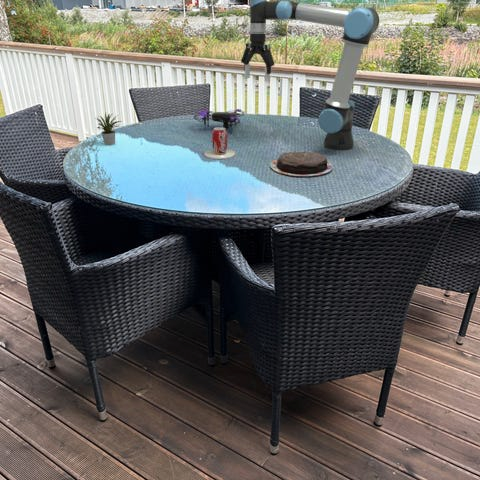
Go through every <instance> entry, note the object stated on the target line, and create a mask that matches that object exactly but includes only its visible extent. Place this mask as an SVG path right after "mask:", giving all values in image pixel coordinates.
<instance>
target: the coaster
mask: <svg viewBox="0 0 480 480" xmlns="http://www.w3.org/2000/svg"><path fill="white" fill-rule="evenodd" d="M235 156H236V152H235V151H234V150H232V149H228V148H227V152H226V153H225V154H222V155H218V154H215V153H214V152H213V148H212V149H209V150H206V151H205V152H204V158H207V159H211V160H227V159H232V158H234V157H235Z"/></svg>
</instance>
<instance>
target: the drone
mask: <svg viewBox="0 0 480 480" xmlns="http://www.w3.org/2000/svg"><path fill="white" fill-rule="evenodd" d="M238 112H239V113H238ZM244 115H245V111H244V110H242V109H241V108H240V109H239V108H236V109H234V111H232V110H228V111H214V110H212V111H211V110H210V109H207V110H201V111H200V112H197V113H195V114H194V115H193V118H194V120H195V121H198V122H201V123H202V122H203V125H204V132H207V128H209V127H210V123H209V121H213V122H218V123H222V127H224V128H226V129H225V130H228V129H229V128H230V129H229V132H230V133H229V134H231V135H232V134H233V133H232V132H233V131H232V127H233V126H234V127H236V126H237V125H238V124H240V123H241V119H240V118H239V117H242V116H244Z"/></svg>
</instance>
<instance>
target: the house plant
mask: <svg viewBox="0 0 480 480" xmlns="http://www.w3.org/2000/svg"><path fill="white" fill-rule="evenodd" d="M112 116H113V113H112V114H111V115H110V113H108V114H107V112H105V113H104V118H103V116H101V115H99V117H100V118H101V119H100V118H99V117H95V120H97V121H98V122H99V123H98V126H97V127H96V129H98V130H103V131H102V132H101V137H102V139H103V143H104V145H105V146H114V145H115V144H116V131H115V130H114V129H115V128H119V127H120V126H121V125H120V124H118V123H120V122H122V121H121V120H117V119H118V116H119V115H118V114H117V115H115V116H114V117H113V118H112V120H110V119H111V117H112ZM115 120H116V121H115ZM113 121H114V122H113ZM116 124H118V125H116Z"/></svg>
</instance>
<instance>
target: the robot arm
mask: <svg viewBox="0 0 480 480" xmlns="http://www.w3.org/2000/svg"><path fill="white" fill-rule="evenodd" d="M249 9H250V10H249V12H250V14H249V15H250V17H249V18H250V20H249V32H250V33H249V42H247V43H246V44H245V48H244V52H243V55H242V57H241V61H240V63H241V64H243V66H244V67H243V68H244V70H243V71H244V79H250V78H251V75H250V74H251V73H250V72H251V67H250V66H251V64H250V62H251V60H252V59H253V57H254V56H255V55H259V56H260V57H261V58H262V61H263V62H264V64H265V67H264V82H269V81H270V80H271V79H270V78H271V73H272V67H274V66H275V61H274V57H273V55H272V52H271V45H270V44H265V42H266V41H267V40H266V36H267V35H266V32H267V31H266V29H267V20H280V21H284V20H292V21H293V20H294V21H301V22H306V23H311V24H312V23H313V24H320V25H326V26H331V27H332V26H333V27H339V28H343V35H342V41H343V44H344V45H343V48H342V52H341V56H340V59H339V63H338V65H337V70H336V73H335V78H334V82H333V85H332V88H331V91H330V96H329V98H327V99H326V100H325V103H324V106H323V110H322V111H321V112H320V113H319V116H318V119H317V122H318V126H319V128H320V129H321V130H322V131H323V132H325V133H326V135H325V137H324V140H323V147H325V148H327V149H331V150H337V151H338V150H339V151H340V150H341V151H342V150H343V151H344V150H345V151H346V150H350V149H353V148H354V145H355V142H354V137H353V130H352V129H353V125H354V124H353V121H354V113H355V108H356V107H355V101H354V100H350V96H351V93H352V89H353V86H354V83H355V79H356V76H357V72H358V69H359V66H360V62H361V58H362V55H363V52H364V49H365V48H366V47H368V46H369V44H370V40H371V38H372V35H373V34H374V33H375V32H376V31H377V30H378V28H379V25H380V15H379V13H378V12H377V11H376V10H375V9H374V8H372V7H361V6H360V7H352V8H351V9H348V8H340V7H332V6H325V5H324V6H323V5H319V4H312V3H311V4H309V3H303V2H296V1H293V0H289V1H288V0H281V1H279V0H276V1H274V0H270V1H268V0H250V5H249Z"/></svg>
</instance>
